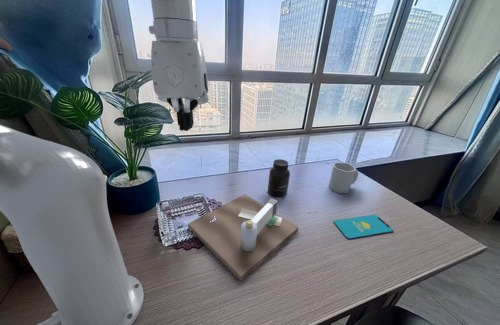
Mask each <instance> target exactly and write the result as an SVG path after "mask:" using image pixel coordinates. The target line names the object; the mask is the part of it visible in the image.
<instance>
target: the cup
mask: <svg viewBox="0 0 500 325" xmlns="http://www.w3.org/2000/svg"><path fill="white" fill-rule="evenodd" d="M332 166H333V167H332V170H331V174H330V178H329V182H328V187H329V189H331V190H332V191H333V192H336V193H338V194H346V193H349V191H350V189H351V186H352V185H353V184H355V182H357V179H358V176H359V172H358V169H357V168H356V167H355V166H354V165H353V164H351V163H348V162H343V161H342V162H341V161H337V162H334V164H333V165H332Z"/></svg>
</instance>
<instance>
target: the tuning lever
mask: <svg viewBox="0 0 500 325" xmlns="http://www.w3.org/2000/svg"><path fill="white" fill-rule="evenodd" d="M278 202H279V201H278V200H276V199H274V198H270V199H269V200H268V201H267V203H266V204H265V205H263V206H264V207H263V208H262V209H261V210H260V211H259V212H258V213H257V215H256V216H255V217H254V218H253V219H252V220H251V221H250V220H248V221H245V222H243V223H242V225H241V248H242V250H244V251H246V252H251V251H253V250H254V249H255V248H256V237H257V234H258V233H259V232H260V231H261V229H262V228H263V227H264V226H265V225H266V224H267V222H268V221H269V220H270V219H271V218H272V217H274V215H275V214H277V211H278V210H277V209H278V204H279V203H278Z"/></svg>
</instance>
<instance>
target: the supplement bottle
mask: <svg viewBox="0 0 500 325" xmlns="http://www.w3.org/2000/svg"><path fill="white" fill-rule="evenodd" d="M290 178H291V172H290V169H289V162H288V161H287V160H285V159H274V160H273V164H272V167H271V168H270V170H269V175H268V184H267V193H268V195H269V196H271V197H273V198H277V199H283V198H285V197H286V196H287V195H288V189H289V184H290Z"/></svg>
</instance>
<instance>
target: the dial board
mask: <svg viewBox="0 0 500 325" xmlns="http://www.w3.org/2000/svg"><path fill="white" fill-rule="evenodd" d="M264 206H265V205H264V204H262V203H261V202H260V201H257V200H256V199H253V198H252V197H250V196H249V195H248V194H246V193H244V194H242V195H240V196H238V197H236V198H234V199H233V200H231V201H229V202H227V203H225V204H223V205H221V206H218V207H217V208H216V209H214V210H211V211H209V212H208V213H206V214H204V215H201V216H200V217H198V218H196V219H194V220H193V221H190V222H188V223H187V228H188V227H189V228H190V229H191V230H192V231H193V232H192V231H191V230H190V229H189V228H188V229H189V230H190V231H191V232H192V233H193V234H194V235H195V237H197V238H198V240H199V241H200V242H202V243H203V244H204V246H206V248H207V249H209V251H210V252H211V253H213V255H214V256H215V257H216V258H217V259H218V260H219V261H220V262H221V263H222V264H223V265H224V266H225V267H226V268H227V269H228V270H229V271H230V272H231V273H232V274H233V275H234V276H235V278H237V279H238V280H239V281H240V282H242V281H243V280H244V279H246V278H247V276H249V274H251V273H252V272H253V271H254V270H256V269H257V268H258V267H259V266H260V265H261V264H262V263H263V262H264V261H266V260H267V259H268V258H269V257H271V255H273V254H274V253H275V252H276V251H277V250H278V249H279V248H281V247H282V246H283V245H284V244H285V243H286V242H288V241H289V239H291V238H292V237H294V236H295V235H296V234H297V233H298V231H299V226H297V225H295V224H294V223H292V222H291V221H289V220H287V219H286V218H285V217H283V216H281V215H280V214H278V213H276V214H275V215H274V217H272V218H271V219H270V220H269V221H268V222H267V224H266V225H265V226H264V227H263V228H262V229H261V231H260V232H259V233H258V234H257V237H256V248H255V249H254V250H253V251H251V252H246V251H244V250H242V248H241V225H242V223H243V222H245V221H248V220H250V221H251V220H252V219H253V218H254V217H255V216H256V215H257V213H258V212H259V211H260V210H261V209H262V208H263V207H264ZM214 216H215V217H216V221H215V222H211V223H210V221H212V220H213V219H214Z"/></svg>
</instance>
